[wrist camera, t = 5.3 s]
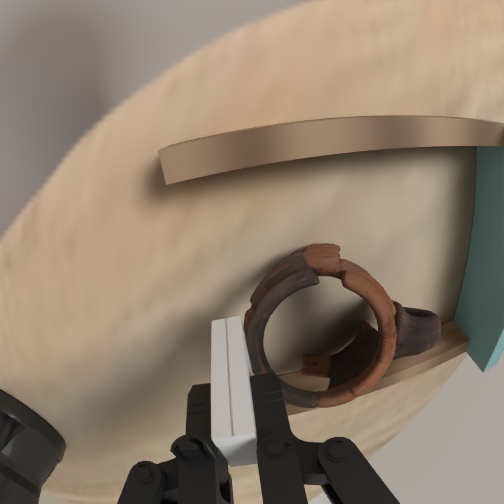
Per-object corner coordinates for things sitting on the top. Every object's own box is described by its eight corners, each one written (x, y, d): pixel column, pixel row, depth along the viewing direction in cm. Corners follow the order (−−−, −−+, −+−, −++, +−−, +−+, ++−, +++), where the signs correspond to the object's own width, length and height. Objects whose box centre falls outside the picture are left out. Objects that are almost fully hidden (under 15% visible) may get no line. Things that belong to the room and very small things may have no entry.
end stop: (449, 332, 22) (482, 372, 17) (474, 119, 14) (539, 131, 8) (463, 325, 22) (496, 363, 17) (489, 120, 14) (550, 134, 8)
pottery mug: (267, 371, 21) (240, 428, 13) (255, 251, 22) (217, 252, 14) (417, 356, 19) (458, 404, 11) (414, 234, 19) (464, 226, 11)
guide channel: (241, 393, 22) (244, 423, 19) (170, 145, 13) (157, 150, 11) (449, 332, 22) (465, 351, 19) (474, 119, 14) (505, 123, 11)
